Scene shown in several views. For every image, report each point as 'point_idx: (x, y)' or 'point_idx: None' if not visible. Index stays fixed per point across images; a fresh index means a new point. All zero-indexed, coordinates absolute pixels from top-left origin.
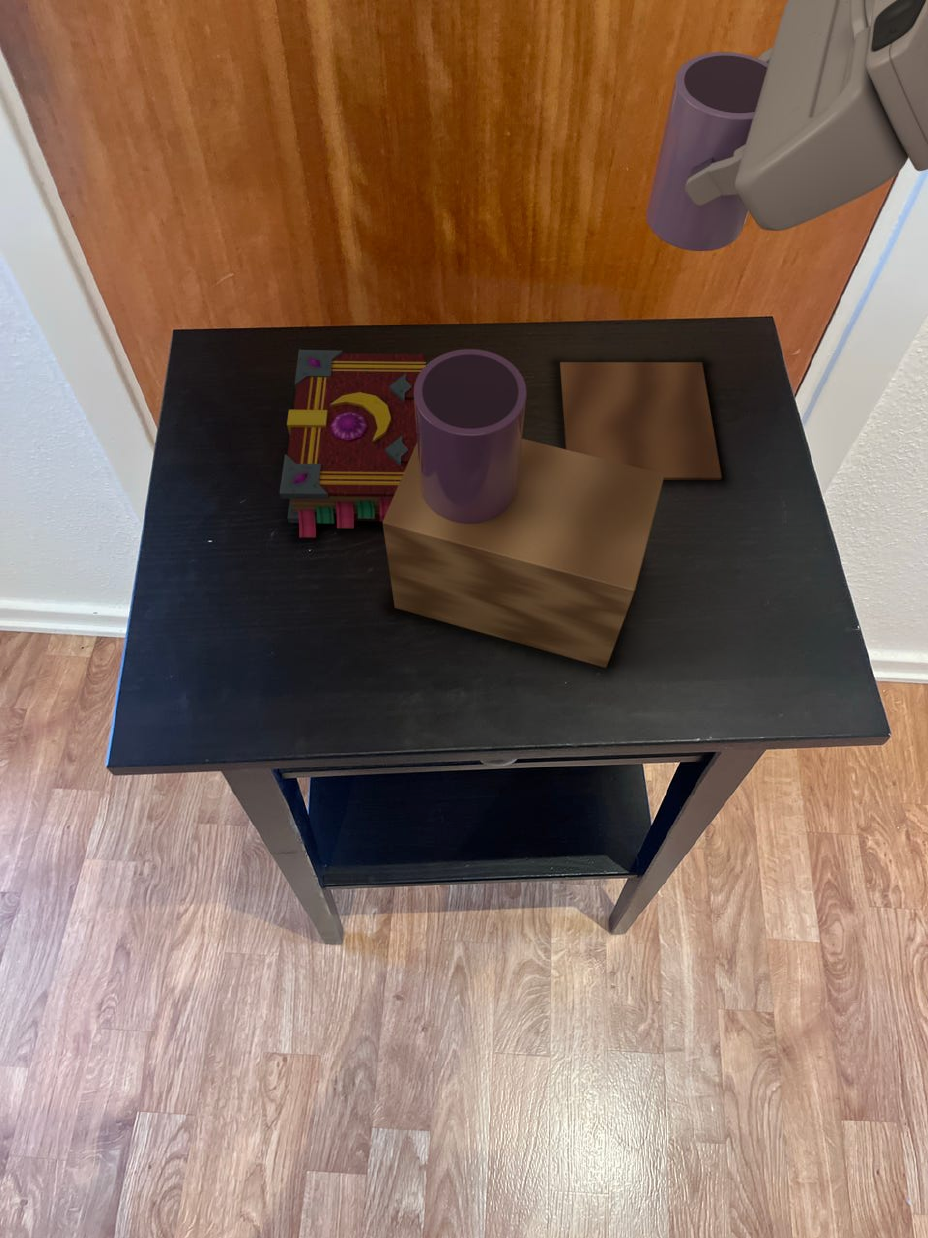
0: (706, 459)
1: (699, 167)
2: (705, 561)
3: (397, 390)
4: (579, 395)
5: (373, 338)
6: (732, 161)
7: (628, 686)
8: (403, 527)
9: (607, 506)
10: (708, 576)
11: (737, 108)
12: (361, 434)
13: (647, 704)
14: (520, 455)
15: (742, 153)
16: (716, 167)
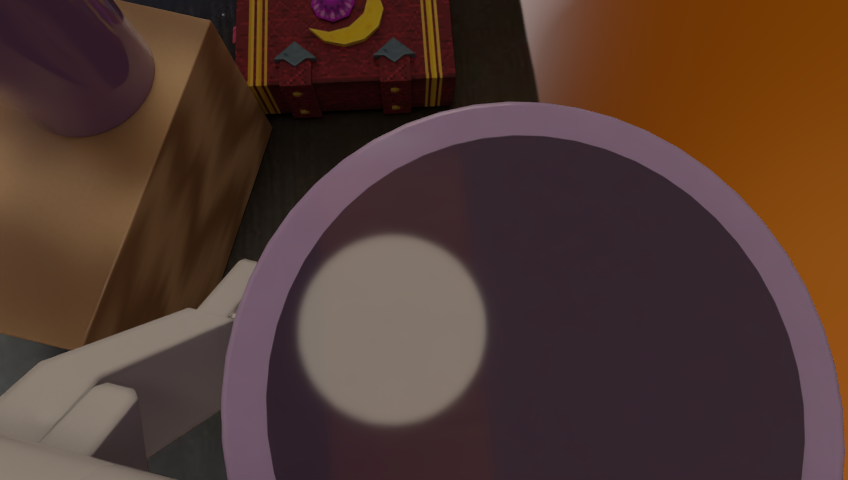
0: None
1: None
2: (198, 453)
3: (386, 46)
4: None
5: (523, 44)
6: (45, 373)
7: (32, 350)
8: None
9: (26, 263)
10: (175, 456)
11: (300, 396)
12: (320, 16)
13: (7, 372)
14: (9, 97)
15: (27, 416)
16: (154, 328)
